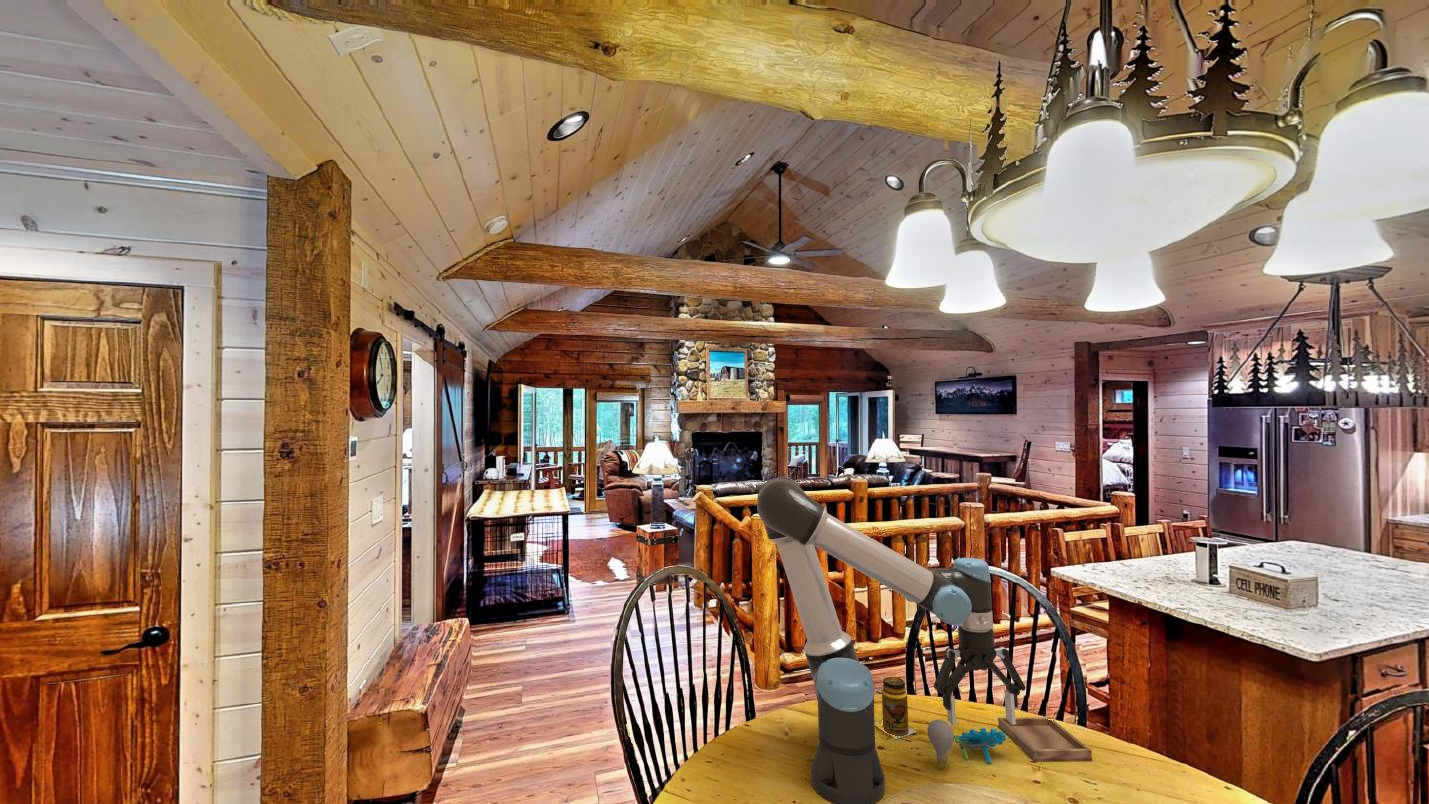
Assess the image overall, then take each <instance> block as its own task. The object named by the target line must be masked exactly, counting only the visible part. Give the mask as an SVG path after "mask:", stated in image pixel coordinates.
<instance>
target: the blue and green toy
mask: <svg viewBox="0 0 1429 804" xmlns="http://www.w3.org/2000/svg"><path fill="white" fill-rule="evenodd" d="M1006 741H1007V738H1006V734H1005V733H1004V732H1003V731H1002V730H1001V731H1000V730H999V731H998V730H997V729H996V728H991V729H990V731H987V729H986V728H985V727H984V728H983V727H982V728H979V731H977V730H976V729H974V728H972V729H969V730H968V732H965V731H962V733H961V735H957V734H956V735H955V734H954V743H955V744H958V745H959V748H960V749H962V753H963V757H964V760H965V761H968V760H969V757H968V753H967V750H968V749H969V750H971V749H972V750H973V749H975V750H976V749H980V750H981V749H982V750H983V754H984V758H985V761H986V764H992V763H993V762H992V759H991V756H990V752H989V751H990V750H989V747H990V748H994V747H997V746H996V745H1003V744H1004V742H1006Z"/></svg>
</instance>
